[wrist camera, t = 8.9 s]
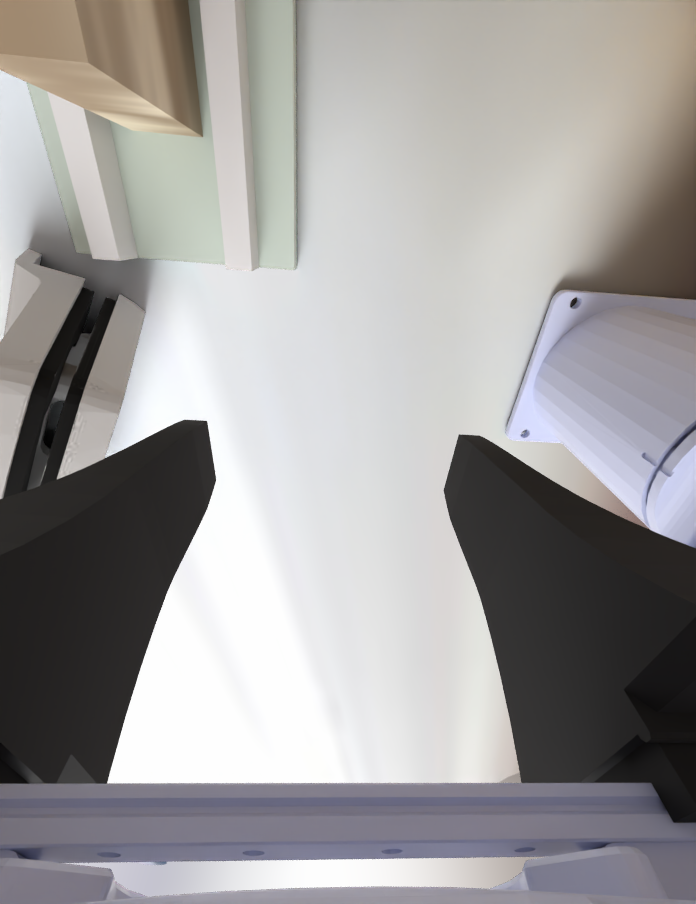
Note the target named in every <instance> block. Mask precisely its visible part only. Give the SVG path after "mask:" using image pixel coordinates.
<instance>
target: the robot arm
mask: <svg viewBox="0 0 696 904" xmlns="http://www.w3.org/2000/svg"><path fill="white" fill-rule="evenodd" d="M574 298H577V302H576V304H575V305H574V306H573V307H570V302H571V301H572V299H574ZM524 430H527V431H526V432H525V433H524V434H521V432H522V431H524ZM505 433H506V436H507V437H508V438H509V439H510V440H514V441H533V442H551V443H562V444H563V445H564V446H565V447H566V448H567V449H568V450H570V451H571V452H572V453H573V454H574V455H575V456H576V457H577V458H578V459H579V460H580V461H581V462H582V463H583V464H584V465H585V466H586V467H587V468H588V469H589V470H590V471H591V472H592V473H593V474H594V475H595V476H596V477H597V478H598V479H599V480H600V481H601V482H602V483H603V484H604V485H605V486H606V487H607V488H608V489H609V490H610V491H611V492H613V493H614V494H615V495H616V496H617V497H618V498H619V499H620V500H621V501H622V502H623V503H624V504H625V505H626V506H627V507H628V508H629V509H630V510H631V511H632V512H633V513H634V514H635V515H636V516H637V517H638V518H639V519H640V520H641V521H642V522H643V523H644V524H645V525H646V526H647V527H648V528H649V529H650V530H649V529H647V528H644V527H642V526H640V525H637V524H635V523H633V522H630V521H628V520H626V519H624V518H622V517H620V516H617V515H615V514H613V513H611V512H609V511H607V510H605V509H603V508H601V507H599V506H597V505H595V504H593V503H591V502H589V501H587V500H585V499H584V498H582V497H580V496H578V495H576V494H574V493H573V492H571V491H569V490H567V489H566V488H564V487H562V486H561V485H559V484H557V483H555V482H554V481H552V480H550V479H549V478H547V477H545V476H544V475H542V474H541V473H539V472H537V471H536V470H534V469H533V468H531V467H530V466H528V465H526V464H525V463H523V462H522V461H520V460H519V459H517V458H516V457H514V456H513V455H511V454H510V453H508V452H506V451H505V450H503V449H502V448H500V447H499V446H497V445H495V444H494V443H492V442H490V441H489V440H487V439H485V438H483V437H481V436H474V435H459V436H458V440H457V444H456V447H455V451H454V455H453V458H452V462H451V466H450V469H449V473H448V477H447V480H446V484H445V488H444V494H445V499H446V503H447V508H448V512H449V516H450V520H451V522H452V525H453V528H454V530H455V533H456V536H457V538H458V541H459V543H460V546H461V549H462V551H463V554H464V556H465V559H466V561H467V564H468V566H469V569H470V571H471V574H472V576H473V579H474V582H475V584H476V587H477V590H478V593H479V596H480V599H481V602H482V605H483V609H484V613H485V616H486V620H487V624H488V627H489V631H490V635H491V639H492V643H493V647H494V651H495V655H496V659H497V663H498V667H499V671H500V676H501V680H502V685H503V690H504V694H505V699H506V703H507V708H508V713H509V717H510V722H511V728H512V733H513V738H514V744H515V749H516V754H517V760H518V765H519V770H520V776H521V782H522V783H167V784H107V781H108V777H109V773H110V770H111V766H112V762H113V759H114V755H115V752H116V748H117V745H118V741H119V738H120V734H121V730H122V727H123V723H124V720H125V716H126V713H127V710H128V707H129V703H130V700H131V697H132V694H133V690H134V687H135V684H136V681H137V677H138V674H139V671H140V668H141V665H142V662H143V659H144V656H145V653H146V650H147V647H148V644H149V641H150V638H151V635H152V632H153V629H154V626H155V624H156V621H157V618H158V616H159V613H160V610H161V607H162V605H163V602H164V599H165V596H166V594H167V591H168V589H169V587H170V584H171V582H172V580H173V577H174V575H175V573H176V571H177V569H178V567H179V565H180V563H181V561H182V559H183V557H184V555H185V553H186V551H187V549H188V547H189V545H190V543H191V541H192V539H193V537H194V535H195V533H196V531H197V529H198V527H199V525H200V523H201V520H202V518H203V516H204V514H205V512H206V510H207V507H208V504H209V501H210V498H211V495H212V492H213V489H214V485H215V482H216V476H215V470H214V463H213V457H212V450H211V444H210V438H209V431H208V425H207V421H197V420H183V421H180V422H178V423H175V424H173V425H171V426H169V427H167V428H165V429H163V430H161V431H159V432H157V433H155V434H153V435H151V436H149V437H147V438H145V439H143V440H141V441H140V442H138V443H136V444H134V445H132V446H130V447H128V448H126V449H124V450H122V451H120V452H118V453H115V454H113V455H111V456H109V457H107V458H105V459H103V460H100V461H98V462H96V463H94V464H92V465H90V466H88V467H86V468H83V469H81V470H79V471H76V472H74V473H72V474H69V475H67V476H64V477H62V478H59V479H57V480H54V481H51V482H49V483H46V484H43V485H41V486H38V487H35V488H33V489H30V490H27V491H24V492H21V493H18V494H15V495H12V496H9V497H6V498H2V499H0V904H696V300H692V299H679V298H666V297H654V296H641V295H628V294H616V293H603V292H590V291H577V290H561V291H559V292H557V293H556V294H555V295H554V296H553V298H552V300H551V303H550V306H549V308H548V311H547V314H546V317H545V320H544V323H543V326H542V328H541V331H540V334H539V337H538V340H537V343H536V345H535V348H534V351H533V354H532V357H531V360H530V363H529V365H528V368H527V371H526V374H525V377H524V380H523V382H522V385H521V388H520V391H519V394H518V397H517V400H516V402H515V405H514V408H513V411H512V414H511V417H510V419H509V422H508V425H507V428H506V432H505ZM543 856H544V858H537V859H531V860H527V861H526V862H525V864H524V867H523V870H522V872H521V873H520V874H518V875H517V876H515V877H514V878H513V879H511V880H510V881H508V882H505V883H503V884H501V885H498V886H495V887H493V888H490V889H481V888H480V889H479V888H457V887H333V888H332V887H330V888H291V889H290V888H288V889H266V890H243V891H221V892H207V893H194V894H180V895H166V896H153V897H148V896H145V895H142V894H139V893H136V892H133V891H130V890H128V889H126V888H125V887H123V886H122V885H120V884H119V883H117V882H116V881H115V879H114V876H113V873H112V870H111V869H108V868H99V867H91V866H82V865H73V864H65V863H86V862H87V863H90V862H168V861H237V860H238V861H242V860H317V859H391V858H392V859H394V858H465V857H466V858H470V857H543ZM545 856H550V857H545Z"/></svg>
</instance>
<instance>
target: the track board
mask: <svg viewBox="0 0 696 904" xmlns="http://www.w3.org/2000/svg"><path fill="white" fill-rule="evenodd" d="M188 4H189V13H190V22H191V32H192V41H193V50H194V59H195V68H196V77H197V86H198V95H199V105H200V114H201V123H202V132H203V137H194V136H184V135H174V134H163V133H153V132H143V131H133V130H130V129H128V128H126V127H123V126H121V125H119V124H117V123H115V122H113V121H110V120H108V119H106V118H104V117H102V116H100V115H97V114H95V113H93V112H91V111H89V110H87V109H84V108H82V107H80V106H78V105H76V104H73V103H71V102H69V101H67V100H65V99H63V98H60V97H58V96H56V95H54V94H52V93H50V92H47V91H45V90H43V89H41V88H39V87H36V86H34V85H32V84H30V83H28V82H27V86H28V89H29V93H30V96H31V99H32V103H33V106H34V110H35V113H36V117H37V120H38V123H39V127H40V130H41V134H42V137H43V141H44V144H45V147H46V151H47V154H48V158H49V161H50V164H51V168H52V171H53V175H54V178H55V182H56V185H57V188H58V192H59V195H60V199H61V202H62V206H63V209H64V212H65V216H66V219H67V223H68V226H69V229H70V233H71V236H72V240H73V243H74V247H75V250H76V253H81V254H92V258H93V259H101V260H114V261H123V260H129V259H135V258H145V259H158V260H171V261H184V262H196V263H209V264H222V265H226V269H230V270H243V271H253V270H255V269H257V268H259V267H260V268H273V269H286V270H295V269H296V268H297V176H296V0H188Z"/></svg>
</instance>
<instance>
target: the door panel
mask: <svg viewBox="0 0 696 904" xmlns="http://www.w3.org/2000/svg"><path fill="white" fill-rule="evenodd" d="M0 70H2V71H4V72H6V73H8V74H10V75H13V76H15V77H17V78H19V79H21V80H23V81H26V82H28V83H30V84H32V85H34V86H36V87H39V88H41V89H43V90H45V91H47V92H50V93H52V94H54V95H56V96H58V97H60V98H63V99H65V100H67V101H69V102H71V103H73V104H76V105H78V106H80V107H82V108H84V109H87V110H89V111H91V112H93V113H95V114H97V115H100V116H102V117H104V118H106V119H108V120H110V121H113V122H115V123H117V124H119V125H121V126H123V127H126V128H128V129H130V130H133V131H143V132H153V133H163V134H174V135H184V136H194V137H203V132H202V123H201V114H200V105H199V95H198V86H197V77H196V68H195V59H194V50H193V41H192V32H191V22H190V13H189V4H188V0H0Z"/></svg>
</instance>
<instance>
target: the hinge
mask: <svg viewBox="0 0 696 904" xmlns="http://www.w3.org/2000/svg"><path fill="white" fill-rule="evenodd" d="M41 256H42V254H40V253H38V252H35V251H33V250H30V249H27V250H26V251H25V252H24V253H23V254H22V255H20V256H19V257H18V258H17V259H16V260H15V266H14V273H13V279H12V286H11V293H10V299H9V306H8V313H7V319H6V326H5V333H4V338H3V339H2V340H1V342H0V499H2V498H6V497H9V496H12V495H15V494H18V493H21V492H24V491H27V490H30V489H33V488H35V487H38V486H41V485H43V484H46V483H49V482H51V481H54V480H57V479H59V478H62V477H64V476H67V475H69V474H72V473H74V472H76V471H79V470H81V469H83V468H86V467H88V466H90V465H92V464H94V463H96V462H98V461H100V460H103V459H104V458H105V455H106V452H107V449H108V446H109V443H110V440H111V437H112V434H113V431H114V428H115V425H116V422H117V419H118V416H119V412H120V409H121V406H122V402H123V399H124V395H125V391H126V387H127V384H128V380H129V376H130V372H131V368H132V364H133V360H134V356H135V352H136V348H137V344H138V340H139V336H140V333H141V329H142V325H143V321H144V317H145V313H146V312H145V311H144V310H142V309H141V308H140V307H139V306H138V305H137V304H135V303H134V302H132V301H131V300H129V299H127V298H126V297H124V296H123V295H121V294H119V296H118V299H117V301H114V300H112V299H109V298H107V297H106V299H105V301H104V304H103V306H102V308H101V311H100V313H99V316H98V318H97V320H96V323H95V325H94V328H93V330H92V333H89V334H86V333H82V331H83V329H84V326H85V324H86V320H87V317H88V313H89V309H90V305H91V302H92V298H93V294H94V292H93V291H91V290H88V289H86V288H84V287H83V286H84V282H85V278H82V277H78V276H75V275H71V274H68V273H64V272H61V271H58V270H54V269H51V268H47V267H44V266H40V261H41ZM58 401H65V402H64V405H63V408H62V412H61V415H60V418H59V422H58V425H57V429H56V432H55V435H54V439H53V442H52V445H51V449H50V448H48V447H47V446H46V445H45V444H44V441H43V437H44V432H45V428H46V424H47V419H48V415H49V411H50V407H51V405H52V404H53V403H55V402H58Z"/></svg>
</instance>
